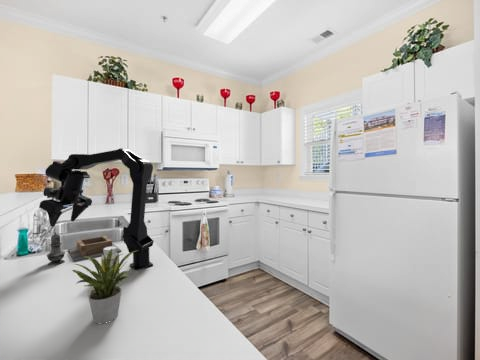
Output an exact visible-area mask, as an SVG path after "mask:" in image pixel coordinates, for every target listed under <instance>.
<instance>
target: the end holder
mask: <svg viewBox="0 0 480 360" xmlns="http://www.w3.org/2000/svg"><path fill="white" fill-rule="evenodd" d="M111 246H115V247H117V253H118V254H119V253H121V252H122V249H120V248H119V247H118V246H117V245H116V244H114V243H113V240H112V239H111V238H109V237H108V236H107V235H101V236H95V237H89V238H83V239H82V238H81V239H77V240H76V247H70V248H68V250H67V251H68V252H69V254H70V256H71V258H72V259H73V261H74V262H75V263H76V262H81V261H85V260H89V259H88V258H87V257H84V256H88V255H89V256H88V257H91V258H94V259H96V258H98V257H102V255H103V254H104V253H103V249H104V248H106V247H111Z"/></svg>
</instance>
